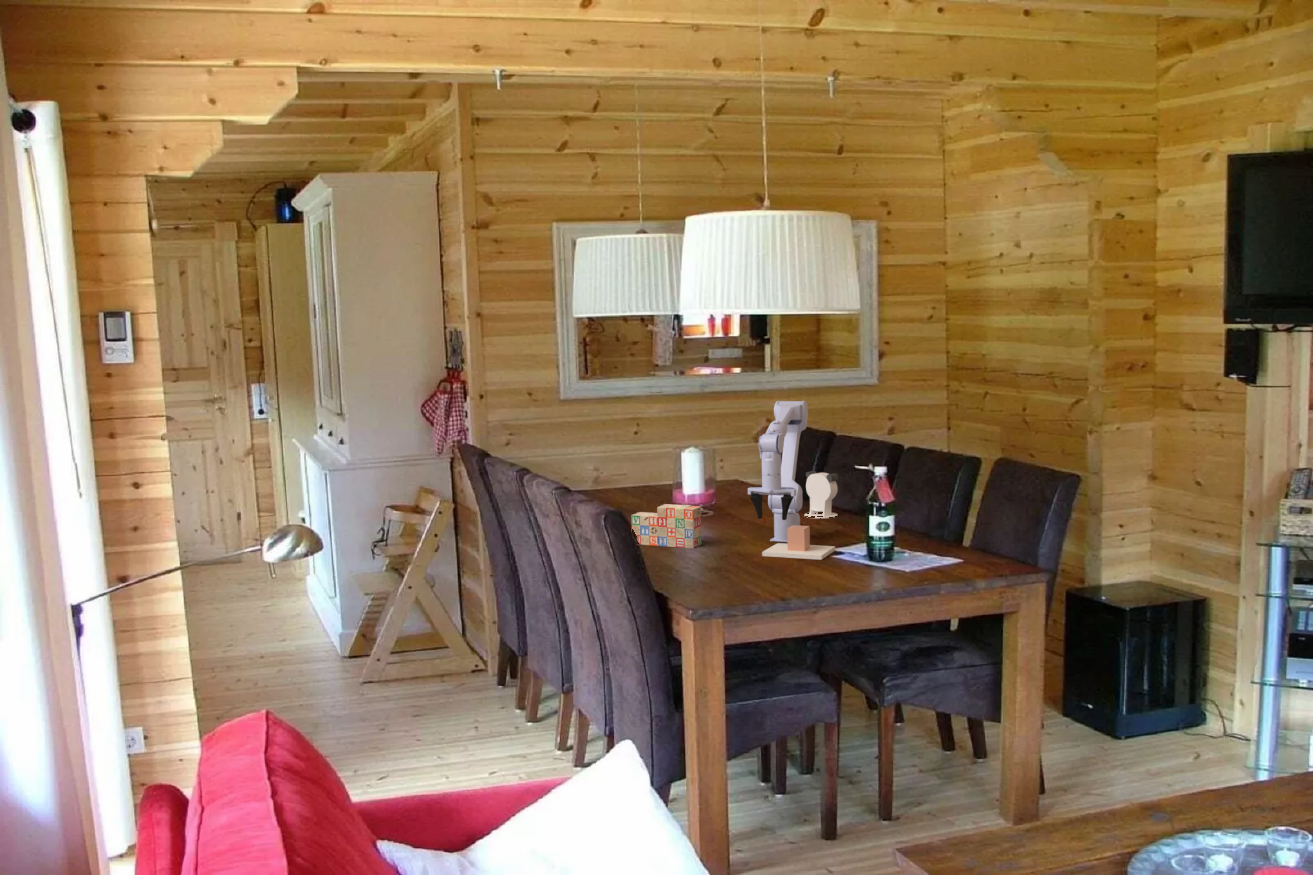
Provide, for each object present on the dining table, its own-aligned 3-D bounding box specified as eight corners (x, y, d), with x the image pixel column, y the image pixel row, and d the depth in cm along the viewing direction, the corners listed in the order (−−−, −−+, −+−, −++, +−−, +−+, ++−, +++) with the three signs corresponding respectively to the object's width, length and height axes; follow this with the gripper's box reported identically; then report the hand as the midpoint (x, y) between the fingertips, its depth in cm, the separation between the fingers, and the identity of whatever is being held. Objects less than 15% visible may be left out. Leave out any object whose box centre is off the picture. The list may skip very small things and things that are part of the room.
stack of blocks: (631, 544, 393) (630, 505, 392) (640, 540, 399) (639, 502, 398) (694, 548, 384) (693, 508, 383) (702, 544, 390) (701, 505, 388)
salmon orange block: (793, 547, 376) (792, 525, 375) (809, 548, 374) (809, 526, 373) (787, 550, 371) (787, 528, 370) (804, 551, 369) (804, 529, 368)
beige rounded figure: (845, 515, 434) (845, 472, 432) (824, 519, 426) (823, 476, 425) (819, 511, 443) (818, 469, 441) (797, 516, 435) (797, 472, 433)
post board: (777, 546, 383) (777, 525, 382) (835, 550, 375) (834, 528, 374) (762, 556, 370) (761, 533, 369) (821, 559, 362) (821, 536, 362)
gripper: (744, 475, 375) (744, 520, 377) (790, 476, 370) (791, 522, 371) (751, 471, 382) (752, 516, 383) (797, 473, 376) (798, 518, 378)
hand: (772, 519), depth 378 cm, fingers open, 7 cm apart
